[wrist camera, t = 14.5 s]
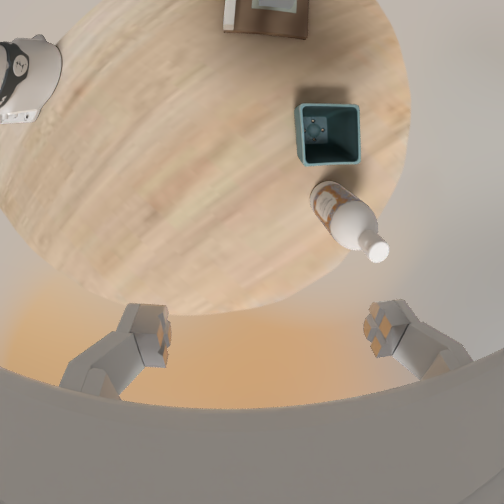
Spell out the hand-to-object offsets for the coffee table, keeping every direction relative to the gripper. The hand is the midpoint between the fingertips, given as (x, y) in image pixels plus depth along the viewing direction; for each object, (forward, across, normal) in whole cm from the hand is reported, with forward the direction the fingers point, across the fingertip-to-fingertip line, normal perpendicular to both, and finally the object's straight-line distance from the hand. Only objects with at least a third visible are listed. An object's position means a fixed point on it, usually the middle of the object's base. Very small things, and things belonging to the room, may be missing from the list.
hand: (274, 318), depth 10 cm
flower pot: (+37, -12, -6) cm, 40 cm away
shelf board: (+37, -3, -31) cm, 48 cm away
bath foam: (+37, -16, +6) cm, 41 cm away
